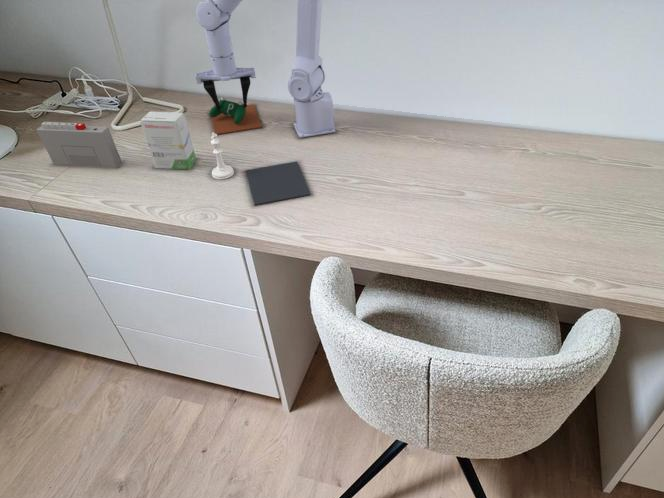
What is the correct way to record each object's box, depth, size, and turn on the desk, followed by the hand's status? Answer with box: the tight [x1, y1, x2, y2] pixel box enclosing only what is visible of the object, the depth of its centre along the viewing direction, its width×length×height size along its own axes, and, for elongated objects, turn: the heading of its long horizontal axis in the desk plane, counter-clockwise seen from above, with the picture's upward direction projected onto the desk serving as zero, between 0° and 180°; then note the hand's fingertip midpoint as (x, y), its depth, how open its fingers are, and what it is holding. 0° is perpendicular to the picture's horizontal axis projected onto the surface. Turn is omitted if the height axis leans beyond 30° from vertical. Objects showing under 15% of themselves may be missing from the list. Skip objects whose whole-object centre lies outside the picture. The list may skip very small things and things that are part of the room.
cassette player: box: [36, 121, 123, 169], centre depth 113 cm, size 16×3×10 cm, turn 83°
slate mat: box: [244, 161, 312, 207], centre depth 109 cm, size 12×14×1 cm
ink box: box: [139, 110, 197, 170], centre depth 112 cm, size 9×5×12 cm, turn 84°
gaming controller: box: [208, 96, 246, 124], centre depth 130 cm, size 9×4×6 cm
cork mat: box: [211, 103, 263, 136], centre depth 131 cm, size 12×14×1 cm
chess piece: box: [210, 132, 235, 180], centre depth 109 cm, size 5×5×10 cm
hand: (232, 107), depth 129 cm, fingers open, 6 cm apart
